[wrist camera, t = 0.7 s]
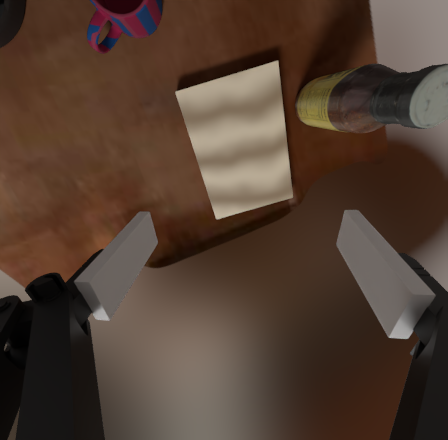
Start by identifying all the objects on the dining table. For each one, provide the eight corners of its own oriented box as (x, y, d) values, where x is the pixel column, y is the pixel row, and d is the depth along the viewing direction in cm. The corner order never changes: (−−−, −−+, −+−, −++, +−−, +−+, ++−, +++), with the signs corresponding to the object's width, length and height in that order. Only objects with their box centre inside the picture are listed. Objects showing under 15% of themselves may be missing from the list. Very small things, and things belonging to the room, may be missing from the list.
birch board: (176, 92, 30) (175, 91, 28) (273, 63, 29) (278, 60, 28) (215, 214, 39) (216, 219, 38) (288, 193, 39) (293, 197, 37)
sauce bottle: (339, 87, 32) (513, 64, 14) (319, 130, 34) (446, 156, 17) (302, 70, 30) (445, 23, 13) (283, 117, 33) (382, 131, 15)
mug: (173, 1, 25) (166, -30, 19) (127, 74, 28) (109, 66, 22) (122, -59, 23) (96, -118, 17) (77, 28, 26) (40, 4, 20)
